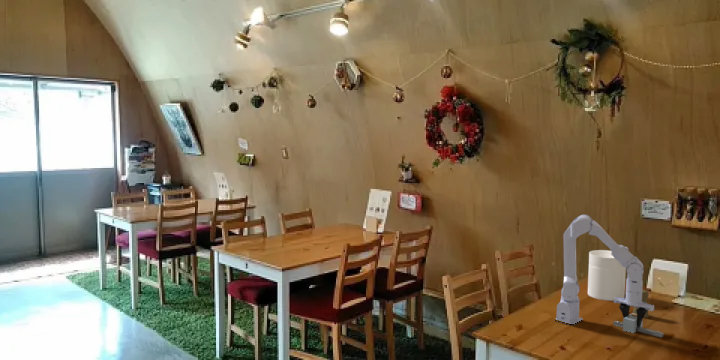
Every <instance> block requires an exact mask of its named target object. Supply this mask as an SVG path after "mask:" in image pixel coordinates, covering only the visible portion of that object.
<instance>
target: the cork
mask: <svg viewBox="0 0 720 360" xmlns="http://www.w3.org/2000/svg"><path fill="white" fill-rule="evenodd" d="M648 298H649V292H648V290H645V289H642V302H644V303H647V304H648ZM637 309H639V308H637V307H633V309H632V311H633V312H632V313H634V314H637V312H636V310H637ZM649 317H650V316H649V310H647V312H646V313H645V315H644V317H643V319H647V318H649Z"/></svg>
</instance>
